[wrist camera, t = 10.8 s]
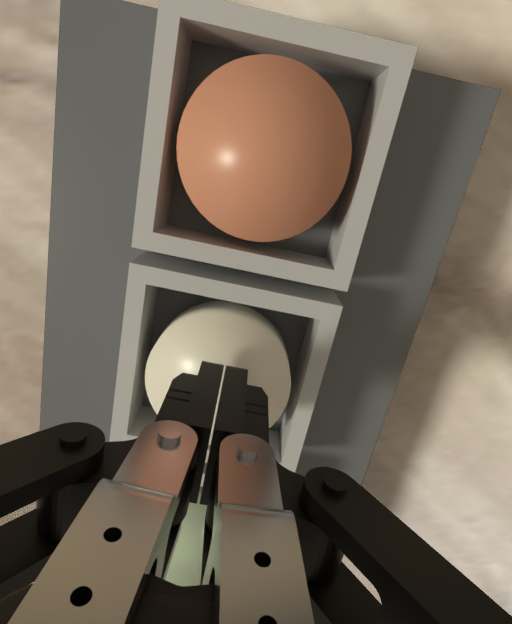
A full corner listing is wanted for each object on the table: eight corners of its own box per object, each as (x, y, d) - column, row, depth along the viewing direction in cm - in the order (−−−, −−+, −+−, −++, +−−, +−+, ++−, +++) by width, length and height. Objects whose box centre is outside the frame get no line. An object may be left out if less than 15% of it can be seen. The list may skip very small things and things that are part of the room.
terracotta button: (199, 50, 12) (190, 34, 11) (361, 88, 13) (373, 77, 11) (175, 218, 14) (165, 223, 13) (320, 248, 14) (326, 257, 13)
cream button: (165, 288, 15) (154, 300, 13) (302, 316, 15) (306, 331, 14) (147, 408, 16) (136, 431, 15) (272, 432, 17) (273, 456, 15)
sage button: (140, 461, 17) (129, 487, 16) (259, 482, 17) (259, 510, 16) (127, 552, 19) (116, 583, 17) (236, 570, 19) (234, 603, 17)
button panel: (98, 21, 15) (25, -48, 11) (459, 104, 16) (540, 76, 11) (63, 491, 22) (9, 577, 18) (317, 535, 23) (331, 630, 18)
